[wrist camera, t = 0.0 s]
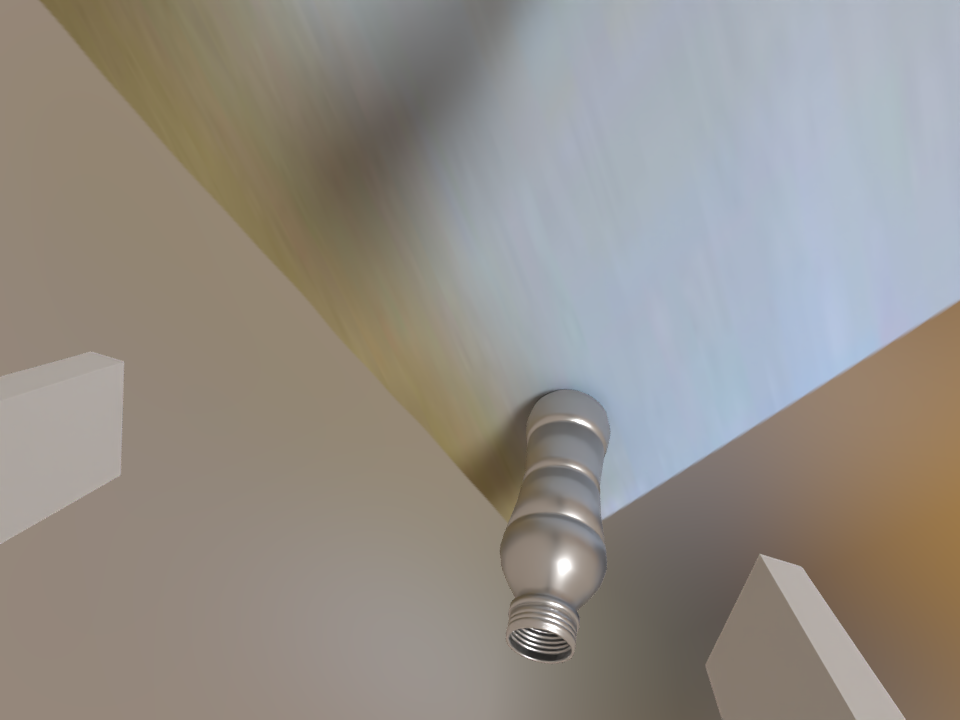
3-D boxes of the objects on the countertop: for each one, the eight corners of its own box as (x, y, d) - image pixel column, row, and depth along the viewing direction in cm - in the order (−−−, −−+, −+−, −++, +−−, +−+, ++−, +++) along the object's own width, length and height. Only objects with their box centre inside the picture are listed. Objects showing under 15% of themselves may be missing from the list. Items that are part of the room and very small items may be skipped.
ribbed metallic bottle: (524, 381, 42) (464, 604, 26) (607, 376, 40) (597, 616, 24) (538, 439, 46) (491, 669, 30) (615, 437, 44) (610, 685, 27)
